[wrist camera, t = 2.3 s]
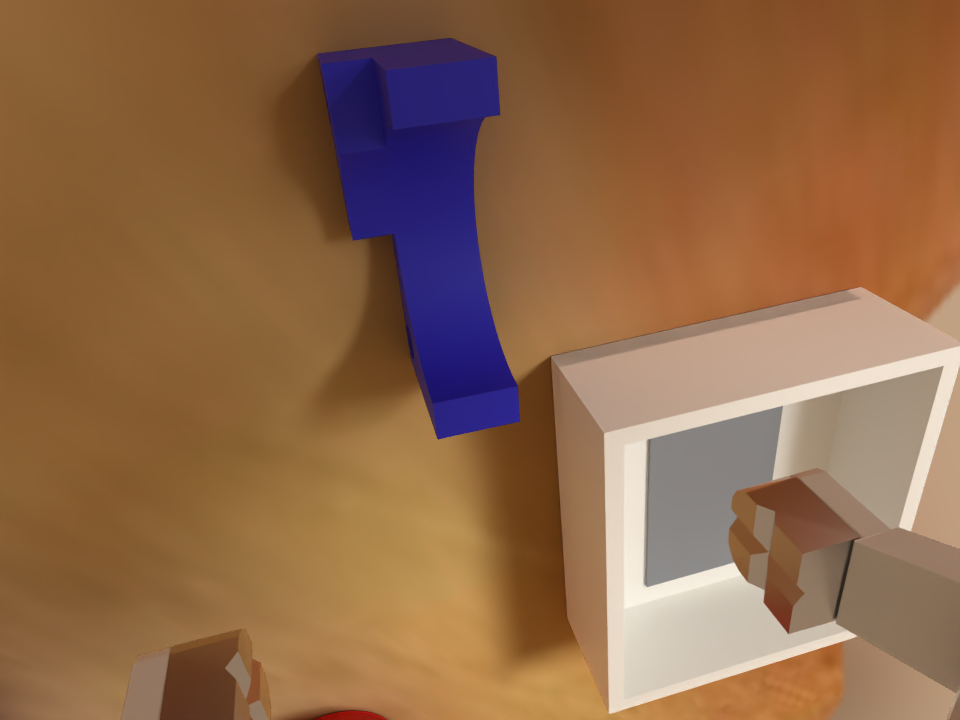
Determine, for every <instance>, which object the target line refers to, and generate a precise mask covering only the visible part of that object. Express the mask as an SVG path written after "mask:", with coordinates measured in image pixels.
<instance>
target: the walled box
mask: <svg viewBox="0 0 960 720" xmlns="http://www.w3.org/2000/svg"><path fill="white" fill-rule="evenodd" d="M551 365H552V381H553V397H554V413H555V429H556V445H557V461H558V477H559V493H560V509H561V525H562V541H563V557H564V573H565V589H566V605H567V619H568V621H569V624H570V626H571V628H572V630H573V633H574V635H575V637H576V640H577V642H578V644H579V646H580V649H581V651H582V653H583V656H584V658H585V660H586V663H587V665H588V667H589V669H590V672H591V674H592V676H593V679H594V681H595V683H596V685H597V688H598V690H599V692H600V695H601V697H602V699H603V701H604V704H605V706H606V708H607V711H608V713H609V714H611V713H614V712H617V711H621V710H624V709H627V708H630V707H633V706H637V705H640V704H643V703H646V702H649V701H653V700H656V699H659V698H662V697H665V696H669V695H672V694H675V693H678V692H681V691H685V690H688V689H691V688H694V687H697V686H701V685H704V684H707V683H710V682H713V681H717V680H720V679H723V678H726V677H729V676H733V675H736V674H739V673H742V672H745V671H749V670H752V669H755V668H758V667H762V666H765V665H768V664H771V663H774V662H778V661H781V660H784V659H787V658H790V657H794V656H797V655H800V654H803V653H806V652H810V651H813V650H816V649H819V648H822V647H826V646H829V645H832V644H835V643H838V642H842V641H845V640H848V639H851V638H854V637H858V636H856V635H855V634H853V633H851V632H849V631H848V630H846V629H844V628H843V627H841V626H839V625H837V624H836V621H833V622H829V623H826V624H822V625H819V626H815V627H812V628H808V629H805V630H802V631H798V632H795V633H791V634H788V633H787V632H786V630H785V629H784V628H783V627H782V625H781V624H780V623H779V622H778V620H777V619H776V618H775V617H774V615H773V614H772V613H771V612H770V610H769V609H768V608H767V606H766V605H765V604H764V603H763V601H764V590H763V589H761V588H759V587H757V586H755V585H752V584H750V583H748V582H747V581H746V580H745V578H744V577H743V576H742V574H741V573H740V572H739V570H738V568H737V566H736V565H735V563H734V561H733V559H732V555H731V551H730V548H729V544H728V538H729V528H730V526H731V525H732V524H733V522H734V521H735V520H736V518H737V515H736V514H735V513H734V512H733V511H732V509H731V504H732V497H733V495H734V494H735V492H736V491H738V490H741V489H744V488H748V487H751V486H755V485H758V484H762V483H765V482H769V481H772V480H775V479H779V478H782V477H789V476H790V475H794V474H797V473H801V472H804V471H808V470H811V469H815V468H818V469H821V470H824V471H825V472H827V473H828V474H829V475H830V476H831V477H832V478H833V479H834V480H836V481H837V482H838V483H839V484H840V485H841V486H842V487H843V488H845V489H846V490H847V491H848V492H849V493H850V494H851V495H853V496H854V497H855V498H856V499H857V500H858V501H859V502H860V503H862V504H863V505H864V506H865V507H866V508H867V509H868V510H869V511H871V512H872V513H873V514H874V515H875V516H876V517H877V518H879V519H880V520H881V521H882V522H883V523H884V524H885V525H886V526H888V527H889V528H890V529H894V528H898V527H899V528H902V529H905V530H908V531H911V529H912V526H913V522H914V519H915V516H916V512H917V508H918V505H919V502H920V498H921V495H922V492H923V488H924V485H925V481H926V478H927V475H928V471H929V468H930V465H931V461H932V458H933V454H934V451H935V447H936V444H937V441H938V437H939V434H940V431H941V427H942V424H943V420H944V417H945V413H946V410H947V407H948V403H949V400H950V397H951V393H952V390H953V386H954V383H955V380H956V376H957V373H958V369H959V366H960V341H958V340H956V339H955V338H953V337H951V336H949V335H947V334H945V333H944V332H942V331H940V330H938V329H936V328H934V327H933V326H931V325H929V324H927V323H926V322H924V321H922V320H920V319H918V318H917V317H915V316H913V315H911V314H909V313H907V312H906V311H904V310H902V309H900V308H898V307H897V306H895V305H893V304H891V303H889V302H887V301H886V300H884V299H882V298H880V297H878V296H877V295H875V294H873V293H871V292H869V291H868V290H866V289H864V288H862V287H858V288H854V289H849V290H845V291H840V292H836V293H831V294H827V295H823V296H818V297H814V298H809V299H805V300H800V301H796V302H791V303H787V304H782V305H778V306H773V307H769V308H764V309H760V310H755V311H751V312H747V313H742V314H738V315H733V316H729V317H724V318H720V319H715V320H711V321H706V322H702V323H697V324H693V325H688V326H684V327H679V328H675V329H671V330H666V331H662V332H657V333H653V334H648V335H644V336H639V337H635V338H630V339H626V340H621V341H617V342H612V343H608V344H603V345H599V346H595V347H590V348H586V349H581V350H577V351H572V352H568V353H563V354H559V355H554V356H551Z"/></svg>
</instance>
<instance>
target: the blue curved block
mask: <svg viewBox="0 0 960 720" xmlns="http://www.w3.org/2000/svg"><path fill="white" fill-rule="evenodd" d="M317 56H318V61H319V66H320V72H321V77H322V82H323V88H324V93H325V98H326V104H327V109H328V114H329V120H330V125H331V130H332V136H333V141H334V147H335V152H336V157H337V163H338V168H339V173H340V179H341V184H342V189H343V195H344V200H345V205H346V211H347V216H348V221H349V227H350V231H351V235H352V239H353V240H360V239H366V238H372V237H378V236H384V235H390V234H392V240H393V246H394V253H395V259H396V266H397V272H398V278H399V285H400V291H401V298H402V304H403V311H404V317H405V323H406V330H407V336H408V343H409V349H410V356H411V360H412V363H413V366H414V369H415V373H416V376H417V379H418V382H419V385H420V388H421V391H422V394H423V397H424V400H425V403H426V406H427V409H428V412H429V415H430V418H431V421H432V424H433V427H434V430H435V433H436V436H437V439H441V438H446V437H451V436H455V435H460V434H464V433H469V432H474V431H478V430H483V429H487V428H492V427H497V426H501V425H506V424H510V423H515V422H520V412H519V397H518V386H517V384H516V382H515V380H514V378H513V376H512V373H511V371H510V369H509V367H508V364H507V362H506V359H505V356H504V354H503V351H502V348H501V345H500V342H499V339H498V335H497V332H496V329H495V325H494V321H493V318H492V314H491V310H490V306H489V301H488V297H487V292H486V287H485V282H484V277H483V272H482V266H481V260H480V253H479V246H478V238H477V229H476V219H475V205H474V158H475V148H476V142H477V136H478V132H479V129H480V126H481V123H482V122H483V120H484V118H485V117H490V116H497V115H500V106H499V90H498V75H497V60H496V56H493V55H491V54H488V53H486V52H484V51H481V50H479V49H476V48H474V47H472V46H469V45H467V44H464V43H462V42H459V41H457V40H455V39H452V38H446V39H438V40H429V41H421V42H412V43H404V44H395V45H387V46H378V47H370V48H361V49H353V50H344V51H336V52H327V53H319V54H317Z"/></svg>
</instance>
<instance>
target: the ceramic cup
mask: <svg viewBox="0 0 960 720" xmlns="http://www.w3.org/2000/svg"><path fill="white" fill-rule="evenodd" d="M314 720H387V719H385V718H384V717H382V716H380V715H377V714H374V713H370V712H365V711H344V712H337V713H332V714H328V715H325V716H322V717H319V718H317V719H314Z"/></svg>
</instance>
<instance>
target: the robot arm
mask: <svg viewBox="0 0 960 720" xmlns="http://www.w3.org/2000/svg"><path fill="white" fill-rule="evenodd" d="M731 509H732V511H733V512H734V513H735V514H736V515H737V518H736V520H735V521H734V522H733V524H732V525H731V526H730V528H729V538H728V544H729V548H730V551H731V555H732V559H733V561H734V563H735V565H736V566H737V568H738V570H739V572H740V573H741V574H742V576H743V577H744V578H745V580H746V581H747V582H748V583H750V584H752V585H755V586H757V587H759V588H761V589H763V590H764V601H763V603H764V604H765V605H766V606H767V608H768V609H769V610H770V612H771V613H772V614H773V615H774V617H775V618H776V619H777V620H778V622H779V623H780V624H781V625H782V627H783V628H784V629H785V630H786V632H787V633H788V634H791V633H795V632H798V631H802V630H805V629H808V628H812V627H815V626H819V625H822V624H826V623H829V622H833V621H836V624H837V625H839V626H841V627H843V628H844V629H846V630H848V631H849V632H851V633H853V634H855V635H856V636H858V637H860V638H862V639H864V640H865V641H867V642H869V643H870V644H872V645H874V646H876V647H877V648H879V649H881V650H882V651H884V652H886V653H888V654H889V655H891V656H893V657H894V658H896V659H898V660H900V661H901V662H903V663H905V664H907V665H909V666H910V667H912V668H914V669H915V670H917V671H919V672H921V673H922V674H924V675H926V676H927V677H929V678H931V679H933V680H934V681H936V682H938V683H939V684H941V685H943V686H945V687H946V688H948V689H950V690H952V691H953V692H955V693H956V695H955V698H954V701H953V704H952V706H951V708H950V711H949V714H948V717H947V720H960V549H958V548H955V547H952V546H950V545H947V544H944V543H941V542H938V541H936V540H933V539H930V538H927V537H925V536H922V535H919V534H916V533H913V532H911V531H908V530H905V529H902V528H899V527H898V528H894V529H890V528H889V527H888V526H886V525H885V524H884V523H883V522H882V521H881V520H880V519H879V518H877V517H876V516H875V515H874V514H873V513H872V512H871V511H869V510H868V509H867V508H866V507H865V506H864V505H863V504H862V503H860V502H859V501H858V500H857V499H856V498H855V497H854V496H853V495H851V494H850V493H849V492H848V491H847V490H846V489H845V488H843V487H842V486H841V485H840V484H839V483H838V482H837V481H836V480H834V479H833V478H832V477H831V476H830V475H829V474H828V473H827V472H825V471H824V470H821V469H818V468H815V469H811V470H808V471H804V472H801V473H797V474H794V475H790V476H789V477H782V478H779V479H775V480H772V481H769V482H765V483H762V484H758V485H755V486H751V487H748V488H744V489H741V490H738V491H736V492H735V494H734V495H733V497H732V504H731ZM121 720H271V705H270V697H269V689H268V684H267V680H266V677H265V673H264V671H263V668H262V666H261V663H260V662H258V661H256V660H254V659H252V642H251V640H250V638H249V636H248V634H247V631H246V629H239V630H235V631H231V632H227V633H223V634H219V635H215V636H211V637H207V638H203V639H199V640H195V641H191V642H187V643H183V644H179V645H175V646H173V647H169V648H165V649H161V650H158V651H154V652H150V653H146V654H142V655H139V656H138V657H137V659H136V661H135V662H134V664H133V666H132V669H131V674H130V679H129V684H128V688H127V693H126V698H125V702H124V707H123V712H122V717H121Z"/></svg>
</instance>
